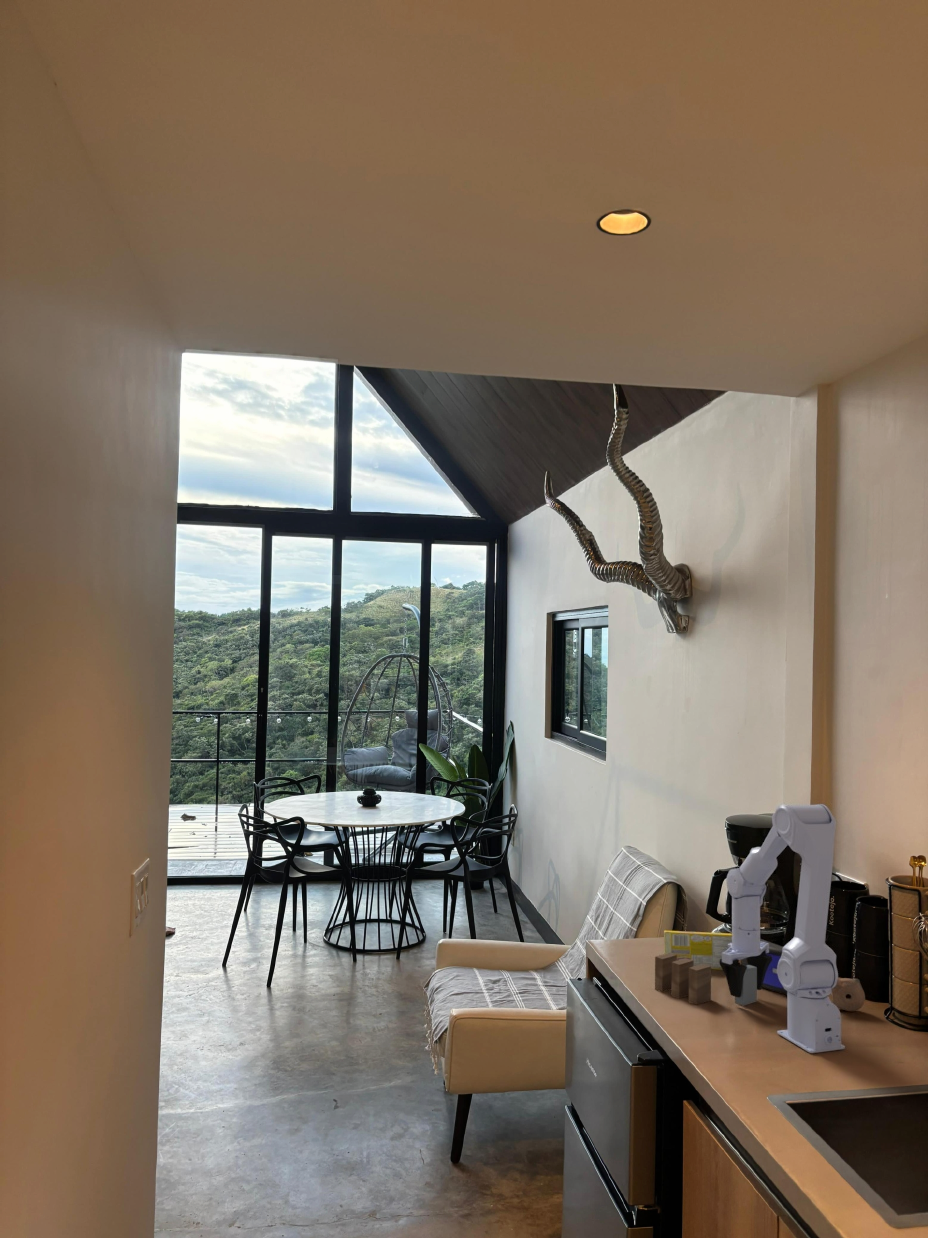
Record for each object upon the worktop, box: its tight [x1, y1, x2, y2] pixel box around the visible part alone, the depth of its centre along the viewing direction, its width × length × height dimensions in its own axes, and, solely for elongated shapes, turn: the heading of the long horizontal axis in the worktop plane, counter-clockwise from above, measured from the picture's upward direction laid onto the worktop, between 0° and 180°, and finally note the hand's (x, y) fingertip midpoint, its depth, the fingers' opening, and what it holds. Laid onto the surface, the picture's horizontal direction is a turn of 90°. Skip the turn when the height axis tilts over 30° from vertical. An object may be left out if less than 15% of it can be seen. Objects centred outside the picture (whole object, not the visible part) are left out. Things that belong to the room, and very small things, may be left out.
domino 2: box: [670, 958, 694, 999], centre depth 184 cm, size 2×5×7 cm, turn 128°
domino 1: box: [654, 953, 677, 993], centre depth 188 cm, size 2×5×7 cm, turn 128°
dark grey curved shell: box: [740, 938, 787, 995], centre depth 191 cm, size 16×5×9 cm, turn 27°
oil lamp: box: [831, 977, 866, 1012], centre depth 177 cm, size 9×4×8 cm, turn 80°
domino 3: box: [688, 964, 712, 1006], centre depth 181 cm, size 2×5×7 cm, turn 128°
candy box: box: [663, 930, 732, 971], centre depth 202 cm, size 16×2×8 cm, turn 84°
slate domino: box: [734, 965, 758, 1007], centre depth 181 cm, size 2×5×7 cm, turn 128°
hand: (745, 992), depth 180 cm, fingers open, 7 cm apart
